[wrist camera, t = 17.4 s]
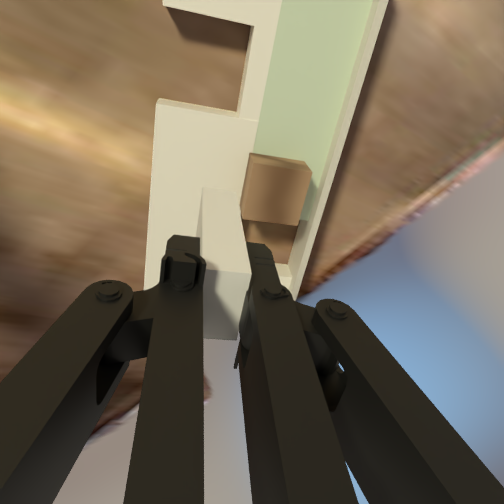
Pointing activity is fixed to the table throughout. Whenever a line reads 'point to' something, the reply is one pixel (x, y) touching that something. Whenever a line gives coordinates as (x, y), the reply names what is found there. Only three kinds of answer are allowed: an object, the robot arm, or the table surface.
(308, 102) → the tray
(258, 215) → the block
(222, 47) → the table surface
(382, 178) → the table surface
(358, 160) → the table surface
